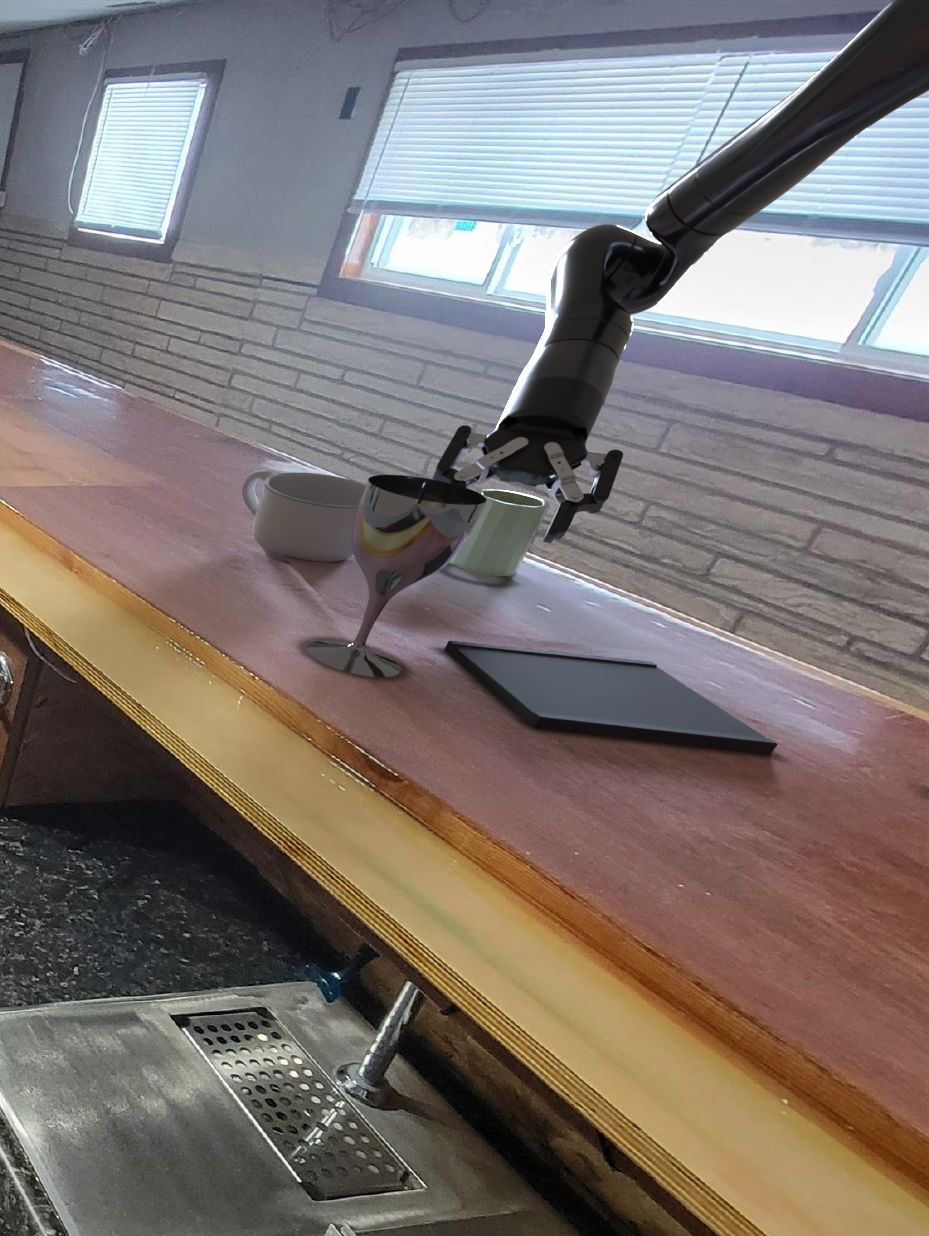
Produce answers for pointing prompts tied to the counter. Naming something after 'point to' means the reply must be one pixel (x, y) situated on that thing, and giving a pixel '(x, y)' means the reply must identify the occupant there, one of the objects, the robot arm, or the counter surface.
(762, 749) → the bar mat
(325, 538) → the teacup
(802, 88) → the robot arm
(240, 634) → the counter surface
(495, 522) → the cup
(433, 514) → the wine glass
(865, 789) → the counter surface
